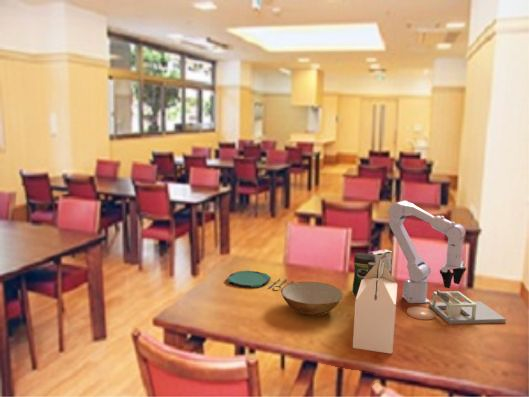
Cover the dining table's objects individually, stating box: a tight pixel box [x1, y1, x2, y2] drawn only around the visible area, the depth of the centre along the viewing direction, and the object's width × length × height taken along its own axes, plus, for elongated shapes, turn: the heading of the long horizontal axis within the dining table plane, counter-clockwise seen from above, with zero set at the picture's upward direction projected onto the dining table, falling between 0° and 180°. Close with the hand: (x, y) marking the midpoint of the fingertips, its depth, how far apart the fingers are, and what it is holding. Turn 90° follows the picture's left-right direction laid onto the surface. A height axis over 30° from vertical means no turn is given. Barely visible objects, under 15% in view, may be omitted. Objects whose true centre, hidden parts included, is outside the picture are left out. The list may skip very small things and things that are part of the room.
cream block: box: [445, 299, 461, 317], centre depth 197 cm, size 4×4×6 cm
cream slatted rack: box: [432, 289, 477, 318], centre depth 196 cm, size 11×14×7 cm
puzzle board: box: [428, 300, 507, 325], centre depth 198 cm, size 23×18×2 cm
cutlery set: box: [226, 270, 294, 291], centre depth 229 cm, size 20×30×2 cm, turn 67°
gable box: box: [352, 257, 398, 355], centre depth 173 cm, size 22×13×28 cm, turn 164°
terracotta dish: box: [406, 306, 437, 321], centre depth 197 cm, size 11×11×1 cm
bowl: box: [280, 281, 344, 317], centre depth 197 cm, size 25×25×8 cm
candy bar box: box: [367, 248, 393, 274], centre depth 228 cm, size 11×5×16 cm, turn 119°
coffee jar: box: [351, 252, 376, 296], centre depth 216 cm, size 10×8×19 cm
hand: (451, 285), depth 202 cm, fingers open, 7 cm apart
